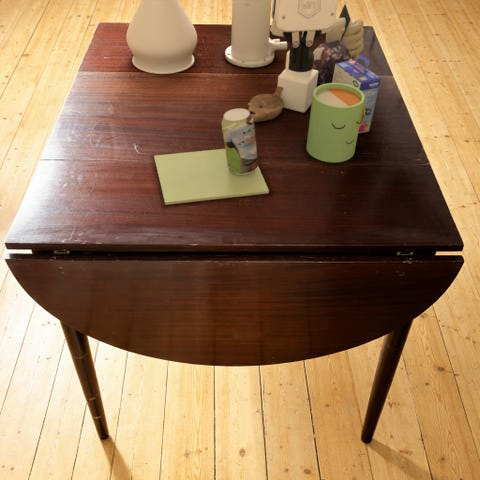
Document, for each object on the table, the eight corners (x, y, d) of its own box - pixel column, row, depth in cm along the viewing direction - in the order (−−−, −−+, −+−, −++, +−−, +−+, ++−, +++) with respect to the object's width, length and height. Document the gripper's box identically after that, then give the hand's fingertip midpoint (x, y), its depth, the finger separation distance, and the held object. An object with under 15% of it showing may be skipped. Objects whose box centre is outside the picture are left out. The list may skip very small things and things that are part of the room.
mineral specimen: (306, 61, 152) (327, 25, 145) (341, 83, 153) (364, 48, 146) (298, 77, 145) (319, 40, 138) (335, 100, 147) (358, 65, 140)
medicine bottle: (315, 99, 143) (321, 48, 134) (304, 113, 138) (310, 61, 129) (286, 92, 145) (291, 41, 136) (275, 106, 140) (279, 54, 131)
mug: (325, 168, 123) (333, 113, 115) (297, 143, 130) (303, 89, 121) (374, 153, 128) (386, 99, 119) (345, 129, 134) (354, 76, 125)
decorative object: (350, 60, 162) (355, 78, 155) (314, 49, 160) (318, 66, 153) (372, 12, 153) (379, 29, 146) (334, -1, 151) (339, 15, 144)
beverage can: (254, 180, 119) (257, 124, 110) (218, 175, 120) (218, 119, 111) (260, 163, 123) (263, 107, 114) (224, 158, 124) (225, 102, 115)
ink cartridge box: (371, 131, 134) (384, 66, 123) (350, 137, 132) (362, 71, 121) (345, 111, 140) (356, 47, 129) (325, 116, 138) (334, 52, 127)
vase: (198, 45, 161) (195, -63, 143) (197, 76, 149) (194, -37, 131) (131, 44, 160) (120, -64, 142) (125, 75, 148) (112, -39, 130)
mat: (249, 148, 128) (249, 146, 127) (268, 193, 117) (269, 190, 117) (154, 158, 124) (153, 155, 124) (165, 205, 114) (165, 202, 113)
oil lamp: (259, 131, 132) (260, 110, 129) (234, 118, 136) (234, 97, 132) (297, 110, 139) (299, 89, 135) (272, 98, 142) (274, 78, 139)
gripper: (268, -40, 91) (262, 79, 104) (363, -44, 94) (344, 73, 107) (256, -55, 96) (251, 60, 109) (346, -59, 98) (331, 54, 112)
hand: (297, 66), depth 108 cm, fingers closed
